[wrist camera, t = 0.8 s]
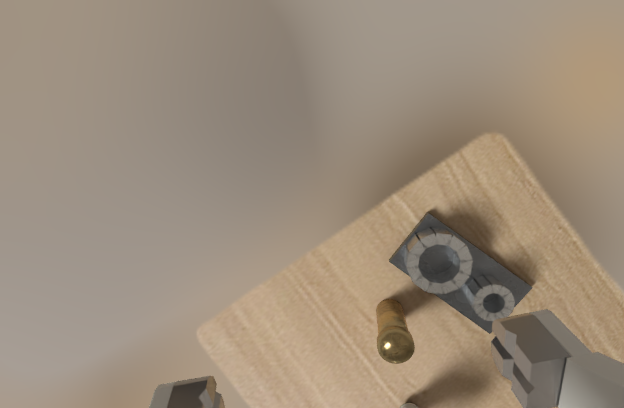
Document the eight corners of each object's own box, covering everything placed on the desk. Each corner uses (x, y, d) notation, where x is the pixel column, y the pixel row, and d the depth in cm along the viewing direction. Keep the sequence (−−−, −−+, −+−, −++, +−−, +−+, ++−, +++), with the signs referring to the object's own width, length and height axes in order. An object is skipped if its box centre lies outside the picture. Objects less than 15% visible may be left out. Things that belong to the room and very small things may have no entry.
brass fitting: (411, 309, 56) (422, 344, 47) (392, 331, 57) (399, 370, 48) (386, 291, 56) (392, 322, 47) (368, 313, 57) (370, 349, 48)
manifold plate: (529, 284, 54) (544, 297, 49) (487, 330, 55) (498, 346, 51) (427, 211, 54) (433, 218, 49) (389, 259, 56) (391, 269, 51)
